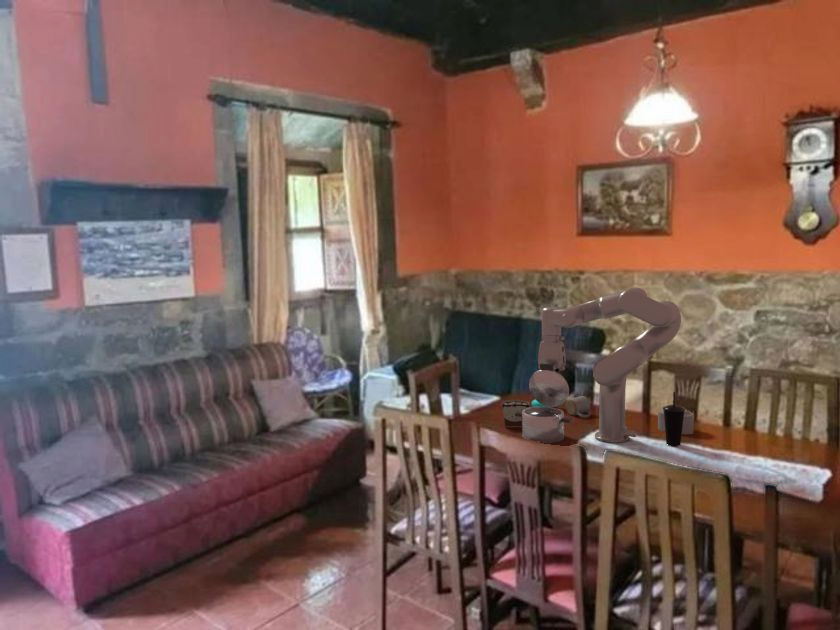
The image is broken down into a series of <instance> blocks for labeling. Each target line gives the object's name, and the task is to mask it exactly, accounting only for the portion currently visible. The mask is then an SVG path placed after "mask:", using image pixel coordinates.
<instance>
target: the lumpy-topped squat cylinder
mask: <svg viewBox="0 0 840 630" xmlns="http://www.w3.org/2000/svg"><path fill="white" fill-rule="evenodd" d="M682 407H683V406H682ZM683 408H685V407H683ZM694 418H695V417H694V413H693V412H691V411H689V410H688V409H686V408H685V411H684V419H683V427H682V435H692V434H694V420H695V419H694ZM657 430H659V431H662V432H665V420H664V410H663V408H662V409H660V410H658V412H657Z"/></svg>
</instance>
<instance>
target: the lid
mask: <svg viewBox="0 0 840 630" xmlns="http://www.w3.org/2000/svg"><path fill="white" fill-rule="evenodd" d="M528 382H529V383H528V389H529V392H530V395H531V397H533V399H534V400H537V401H538V402H539V403H541V404H542V405H545V406H549V407H553V408H556V407H559V406H561V405H563V404H564V403H565V401H566V400H568V397H569V395H570V394H569V393H570V387H569V384H568V382H567V380H566V378H565V377H564V376H563V375H562V374H561V373H559V372H556V371H554V369H553V364H543V363H541V364H540V369H539V370H536V371H535V372H534V373H533V374H532V375H531V376H530V378H529V381H528Z"/></svg>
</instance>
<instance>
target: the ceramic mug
mask: <svg viewBox="0 0 840 630" xmlns="http://www.w3.org/2000/svg"><path fill="white" fill-rule="evenodd" d="M565 409H566V411H567V413H568V414H569V415H571V416H579V417H581V418H584V419H587V417H588V418H590V416H591V414H592V413H591V412H592V411H591V404H590V401H589V399H588V398H587V397H586V396H585V395H579V396H577V397H573V398H570V399H567V401H566V403H565Z"/></svg>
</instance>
